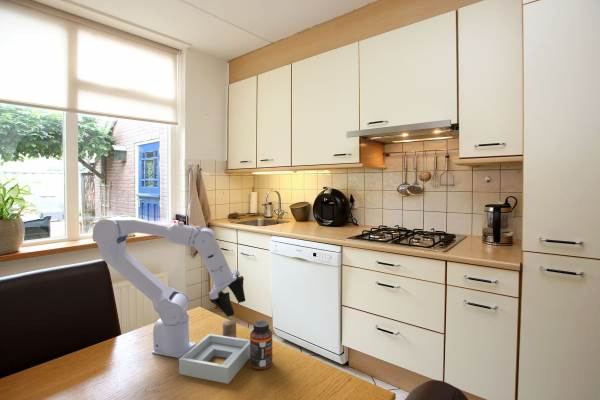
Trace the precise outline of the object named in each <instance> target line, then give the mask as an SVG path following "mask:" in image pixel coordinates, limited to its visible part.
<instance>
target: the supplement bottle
mask: <svg viewBox="0 0 600 400" xmlns="http://www.w3.org/2000/svg"><path fill="white" fill-rule="evenodd" d="M269 324H270V323H269V322H268V321H267V320H257V321H255V322H254V323H253V329H252V330H251V332H250V334H249V340H250V358H249V359H250V360H249V361H250V366H251V367H252V368H253V369H255V370H260V371H262V370H266V369H268V368H270V367H271V366H272V364H273V331H272V330H271V329H270V328H269V327H270V325H269Z"/></svg>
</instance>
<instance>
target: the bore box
mask: <svg viewBox="0 0 600 400" xmlns="http://www.w3.org/2000/svg"><path fill="white" fill-rule="evenodd" d="M213 357H218V358H224V359H225V360H224V361H223V362H222V363H218V362H217V363H216V362H212V361H211V360H212V359H213ZM249 359H250V339H247V338H239V337H236V338H234V337H227V336H223V335H221V334H213V333H208V334H207V335H205V337H203V338H202V339H201V340H200V341H199V342H198V343H196V345H194V346H193V347H192V348H191V349H190V350H188V351H187V352H186V353H185V354H184V355H182V356H181V357H180V358H178V373H179V375H182V376H187V377H193V378H198V379H201V380H202V379H203V380H208V381H210V382H211V381H213V382H218V383H220V384H227V385H228V384H230V382H231V381H232V380H233V379H234V378H235V376H236V375H237V373H239V371H241V369H242V368H243V366H244V365H245V364H246V363H247V361H248V360H249Z"/></svg>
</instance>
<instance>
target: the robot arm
mask: <svg viewBox="0 0 600 400" xmlns="http://www.w3.org/2000/svg"><path fill="white" fill-rule="evenodd" d="M135 233H136V234H137V233H139V234H145V235H151V236H157V237H163V238H166V240H167V241H168V242H169V243H171V244H175V245H181V246H187V247H190V248H191V247H194V249H196V250H197V251H198V252H199V253H200V255H201V258H202V260H203V262H204V265H205V267H206V269H207V271H208V273H209V276H210V278H211V279H212V282H213V284H214V285H213V287H212V289H211V290H210V292H208V295H209V297H210V298H209V300H210V303H212V304H214V305H215V306H217V307H218V308H219V309H220V310H221V311H222V313H224V314H225V316H226V317H231V316H234V315H235V311H234V309H233V306H232V302H231V299H230V292H229V291H228V292H224V290H226V288H228V289H229V290H230V291H231V292H232V294H233V296H234V297H235V299H236V301H237V303H239V304H240V303H243V302H246V296H245V291H244V290H245V289H244V280H245V279H244V278H245V277H244V276H243V275H241V274H240V272H239V269H235V270H231V269H230V267H229V264H228V262H227V259H226V257H225V256H224V253H223V251H222V249H221V248H220V245H219V243H218V242H217V233H216V232H215V231H214V230H213V229H211V228H209V227H207V226H206V227H202V228H201V226H199V225H196V226H191V225H187V224H185V222H183V221H178V222H174V223H172V224H171V225H167V224H161V223H158V222H155V221H150V220H146V219H142V218H138V217H135V216H134V217H133V216H124V215H115V216H112V217H109V218H103V219H100V220H98V221H96V223H95V224H94V226H93V230H92V240H93V241H94V242H95V243H96V244H97V247H98V250H99V253H100V254H101V258H102V259H103V260H104V261H105V263H107V264H108V265H109V266H110V267H111V268H113V269H114V270H115V271H117V272H118V274H120V275H121V276H122V277H123V278H124V279H125V280H127V282H129V283H130V284H131V285H133V286H134V287H135V288H136V289H137V290H138V291H140V292H141V293H142V294H143V295H144V296H145V297H147V299H149V300H150V301H151V302H152V306H153V310H154V311H155V312H156V313H157V314H158V315H159V317H160V318H158V319H157V321H155V323H154V325H153V329H152V338H153V340H152V341H153V350H152V351H151V354H156V355H160V356H166V357H172V358H176V359H179V358H181V357H182V356H183V355H184V354H185V353H187V352H188V351H189V350H190V349H191V348H193V347H194V346H195V345H196V344H197V343H196V342H193V341H190V324H189V322H190V319H189V318H190V316H189V314H188V312H187V309H188V308H189V306H190V297H189V296H188V295H187V294H186V293H184V292H182V291H179V290H177V289H176V288H174V287H172V286H167V285H166V284H165V283H164V282H162V281H161V280H160V279H159V278H158V277H157V276H156V275H154V274H153V273H152V272H151V271H150V270H149V269H147V268H146V266H144V265H143V264H141V262H139V261H138V260H137V259H136V258H135V257H134V256H133V255H131V254H130V253H129V252H128V251H127V250H126V245H127V244H126V243H127V239H128V236H129V235H132V234H135Z"/></svg>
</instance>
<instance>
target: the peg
mask: <svg viewBox="0 0 600 400" xmlns="http://www.w3.org/2000/svg"><path fill="white" fill-rule="evenodd" d="M222 336H227V337H234V338H237V322H236V321H235V320H226V321H224V322H222Z"/></svg>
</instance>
